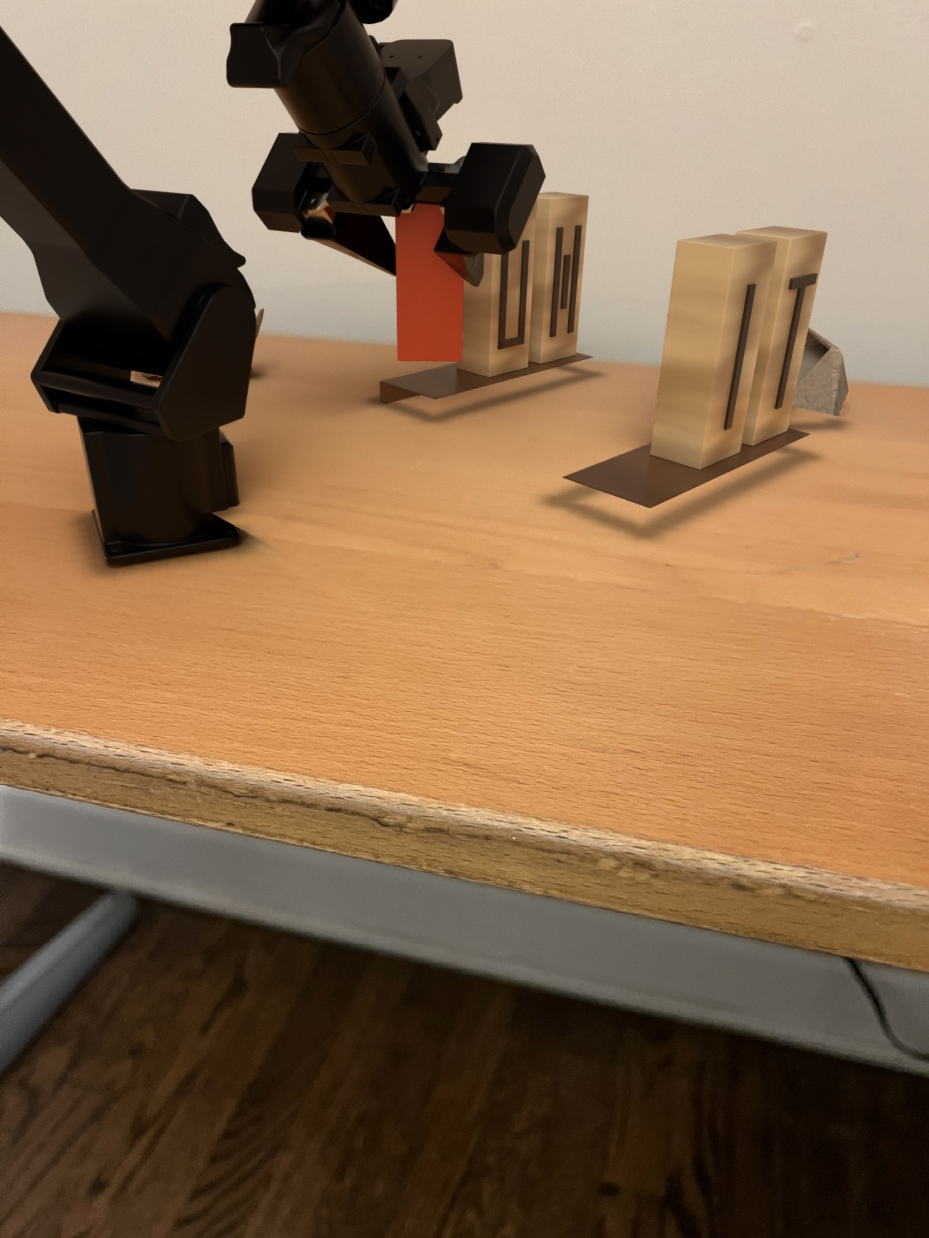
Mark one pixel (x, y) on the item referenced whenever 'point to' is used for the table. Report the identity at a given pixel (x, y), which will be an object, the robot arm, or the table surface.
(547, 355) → the wooden blocks on base
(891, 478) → the table surface
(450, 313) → the red letter block
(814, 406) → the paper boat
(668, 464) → the sit board
